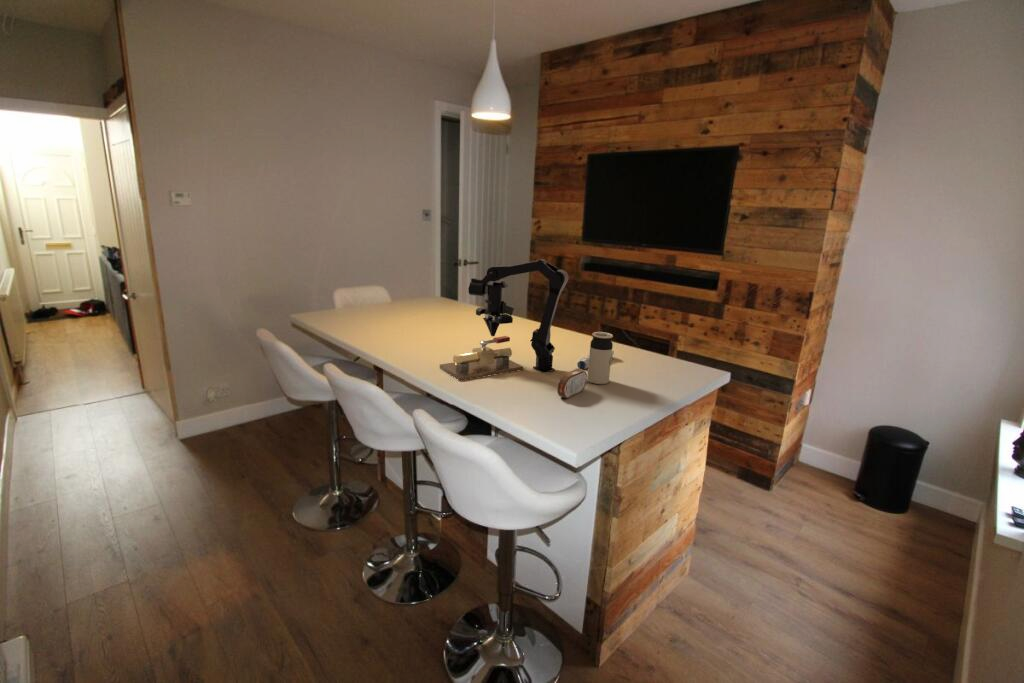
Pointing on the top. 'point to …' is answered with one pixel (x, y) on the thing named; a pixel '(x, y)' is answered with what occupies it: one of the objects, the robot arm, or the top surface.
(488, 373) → the valve
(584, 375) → the tin
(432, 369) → the top surface
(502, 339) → the lever
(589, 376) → the travel mug
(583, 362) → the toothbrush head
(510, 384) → the top surface
